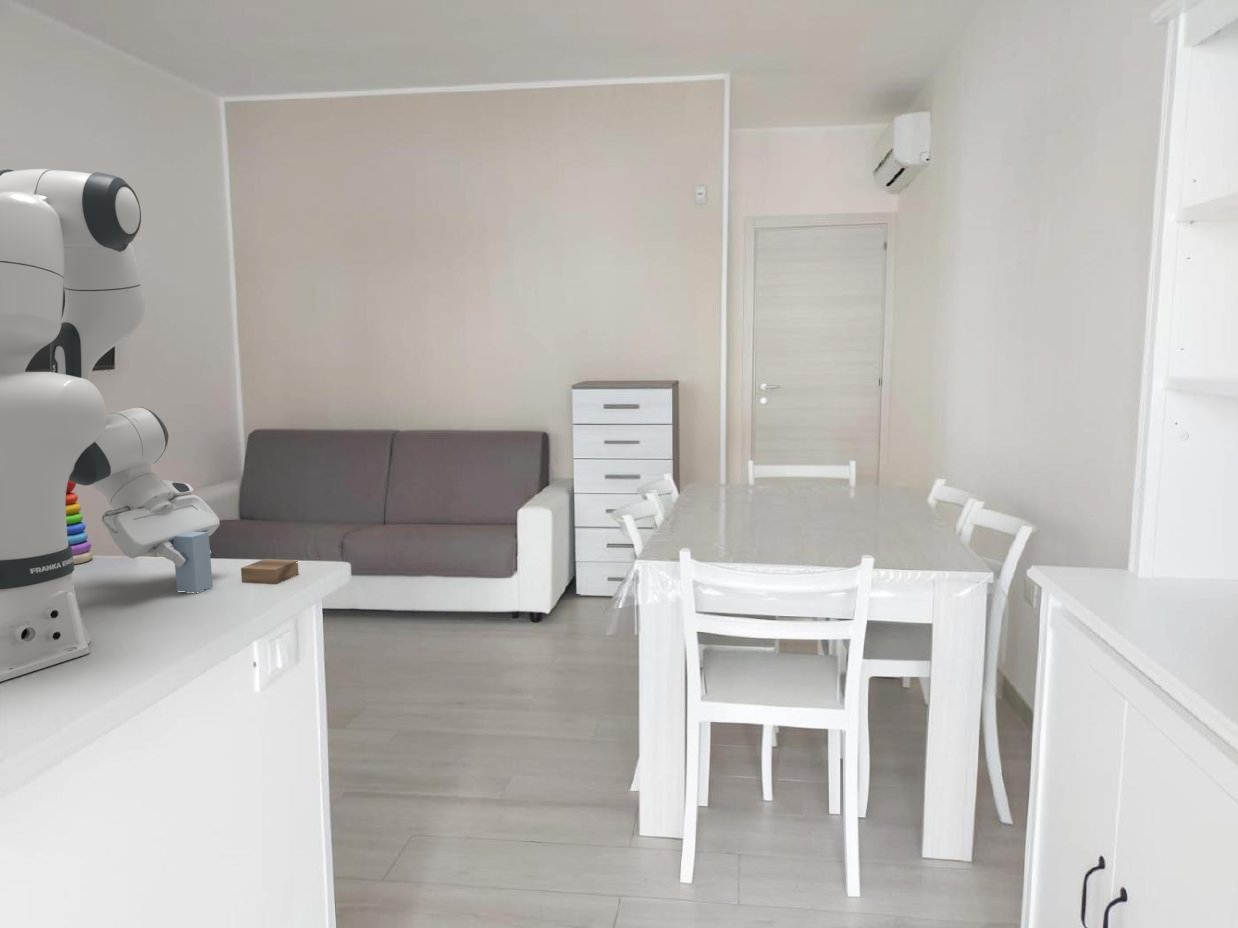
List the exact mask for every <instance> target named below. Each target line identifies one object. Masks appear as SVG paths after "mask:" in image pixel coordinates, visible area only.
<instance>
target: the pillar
mask: <svg viewBox="0 0 1238 928" xmlns="http://www.w3.org/2000/svg"><path fill="white" fill-rule="evenodd" d="M210 547H211V546H210V536H209V532H192V531H191V532H188V533H184V534H181V535H177V536H175V538H174V539H173V547H172V548H173V549H175V550H177V551H178V552H180V553H182V552H184V553H185V554H186V556H187V557H188V558H189V561H188V562H187V564H186V565H184V566H181V567H177V566H176V565H175V564H174V569H175V570H174V571H175V580H176V581H175V583H176V592H177V591H185V592H194V593H197V592H200V591H202V590H204V589H208V588H211V587H213V574H212V562H211V554H210V550H211V549H210ZM211 589H212V588H211ZM208 590H209V589H208ZM200 593H201V592H200ZM197 594H198V593H197Z"/></svg>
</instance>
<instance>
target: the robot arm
mask: <svg viewBox="0 0 1238 928" xmlns="http://www.w3.org/2000/svg"><path fill="white" fill-rule="evenodd" d="M141 222H142V211H141V205H140V201H139V198H138V196H137V194H136V192H135V191H134V189H133V188H132V187H131V186H130V185H129V184H128V183H127V181H126V180H124V179H123V178H121V177H120V176H119V177H118V176H117V175H112V174H108V173H103V172H98V171H97V172H94V173H88V172H81V171H75V170H73V171H72V170H58V169H55V168H33V169H32V168H31V169H21V170H13V169H1V170H0V682H3V681H7V680H10V679H13V678H17V677H19V676H22V675H25V674H29V673H32V672H34V671H39V670H41V669H44V668H47V667H51V666H54V665H56V664H59V663H62V662H66V661H69V660H72V659H76V658H79V657H81V656H84V655H87V654H89V653H90V648H89V644H90V643H91V642H92V641H91V640H92V639H91V636H90V634H89V632H88V630H87V628H86V625H85V622H84V620H83V617H82V613H81V611H80V607H79V602H78V597H77V593H76V590H75V589H76V588H75V586H74V580H73V572H74V571H75V564H74V559H73V553H72V547H71V546H70V545H68V538H67V524H66V489H67V484H68V481H71V482H73V483H76V484H77V485H81V486H85V487H86V486H91V485H92V486H93V487H94V489H96V490H97V491H98V492H100V493H102V494H103V495H104V496H105V497H106V499H107V501H108V504H109V505H110V507H111V508H112V509H110V510H107V511H104V513H103V515H102V516H101V523H102V524H103V525H104V526H105V527H106V528H107V531H108V534H109V535H110V538H111V539H112V540H113V542H114V543H115V545H116V546H117V547H118V549H119V550H120V551H121V553H122V554H123V555H124V556H125V557H128V558H130V559H135V558H138V557H142V556H145V555H149V554H153V553H156V552H157V554H158V555H159V556H160V557H163V558H165V559H167V560H169V561H172V563H174V566H175V565H176V566H177V567H181V566H184V565H186V564H187V562H188V561H189V558H188V557H187V556H186V554H185V553H184V552H182V553H180V552H178V551H177V550H175V549H174V547H173V539H174V538H175V536H177V535H181V534H184V533H188V532H191V531H192V532H209V537H210V536H212V535H213V534H214V533H215V532H216V531H217V529H218V528H219V527H220V525H221V524H220V519H219V516H218V514H216V512H214V511H213V509H212V508H211V507H210V505H208V503H206V502H205V500H204V499H202V498H201V497H200V496H198V495H196V494H194V491H195V489H194V488H193V487H192V485H191V484H189V483H187V482H181V481H180V482H179V481H172V480H169V479H164V478H161V479H160V477H159V476H158V475H157V474H155V473H154V472H153V471H152V466H153V465H154V464H155V463H157V462H158V460H159V459H160V458H161V457H162V456H163V455H164V452H166V449H167V447H168V442H169V432H168V431H169V430H167V429H168V428H167V427H166V425H165V424H164V421H162V419H161V418H160V417H159V416H158V415H157V414H156V413H155V412H154V411H152V410H150V409H148V408H146V407H142V406H138V407H131V408H128V409H125V410H121V411H116V412H112V413H111V414H107V405H106V402H105V400H104V397H103V395H102V394H101V392H100V390H99V388H97V386H96V385H95V384H94V383H93V382H91V375H92V371H93V369H94V367H95V365H96V364H97V362H98V361H99V360H100V359H101V358H102V357H104V355H105V354H107V352H109V351H110V350H111V349H113V348H114V347H116V346H117V345H119V344H121V343H122V342H124V341H125V340H127V339H128V338H130V336H131V335H133V334H134V333H135V332H136V331H137V329H138V328H139V326H140V325H141V323H142V321H143V320H144V317H145V310H146V309H145V308H146V307H145V306H146V305H145V304H146V303H145V302H146V301H145V295H144V288H143V284H142V277H141V273H140V269H139V264H138V261H137V257H136V254H135V253H136V252H135V249H134V247H133V243H132V242H133V241H134V239H135V238H136V236H137V234H138V233H139V230H140V227H141V224H142V223H141ZM64 301H65V302H64ZM63 302H64V303H63ZM63 305H64V309H63ZM49 344H50V347H49V348H50V349H49V352H50V353H49V357H50V358H49V359H50V360H49V362H50V363H49V365H50V366H49V370H50V371H26V369H27V367H28V365H29V364H30V362H31V361H32V360H33V358H34V356H35V355H36V354H37V353H38V352H39V351H41V350H42V349H43V348H45V347H46V346H48V345H49ZM211 554H212V550H211V549H210V555H211Z"/></svg>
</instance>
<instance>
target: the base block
mask: <svg viewBox="0 0 1238 928" xmlns="http://www.w3.org/2000/svg"><path fill="white" fill-rule="evenodd" d="M296 562H298V560H296V559H293V560H291V559H290V560H289V559H273V558H272V559H271V558H270V559H269V558H264V559H263V558H262V559H261V560H258V561H256V562H253V563H251V564H248V565H245V566H243V567H240V573H241V583H246V584H247V583H248V584H262V585H263V584H264V585H279V584H280V583H282V581H283V582H285V581H287V580H289V579H291V577H292V578H294V577H296V576H298V575H297V574H299V562H298V563H296ZM295 575H296V576H295ZM293 576H294V577H293Z"/></svg>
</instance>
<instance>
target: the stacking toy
mask: <svg viewBox="0 0 1238 928" xmlns="http://www.w3.org/2000/svg"><path fill="white" fill-rule="evenodd" d="M75 488H76V483H73V482H71V481H68V484H67V489H66V524H67V538H68V545H70V546H71V547H72V553H73V559H74V565H79V564H82V563H86V562H88V561H90V560H91V559H92V558H93V557H94V554H93V551H92V550H91V549H92V548H91V547H92V543H91V542H90V541H89V540H88V533H87V532H86V531H85V529H86V524H85V522H84V521H83V517H84V516H83V514H82V513H81V512H80V511H81V510H82V509H81V508H82V507H81V506H82V505H80V503H78V502H77V501H78V498H79V497H78V494H77V493H75V492H73V490H74V489H75Z"/></svg>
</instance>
